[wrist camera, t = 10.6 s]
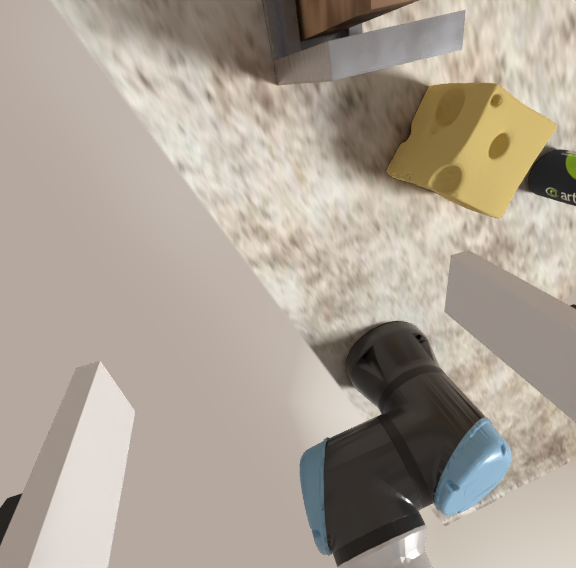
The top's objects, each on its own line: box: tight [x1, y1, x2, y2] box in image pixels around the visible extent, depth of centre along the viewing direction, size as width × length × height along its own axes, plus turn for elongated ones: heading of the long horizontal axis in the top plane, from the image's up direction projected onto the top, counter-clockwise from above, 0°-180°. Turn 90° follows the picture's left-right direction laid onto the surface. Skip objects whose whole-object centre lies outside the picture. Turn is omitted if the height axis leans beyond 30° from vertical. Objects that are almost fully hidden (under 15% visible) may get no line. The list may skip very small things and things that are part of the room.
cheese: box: [386, 83, 558, 219], centre depth 35 cm, size 10×11×10 cm
